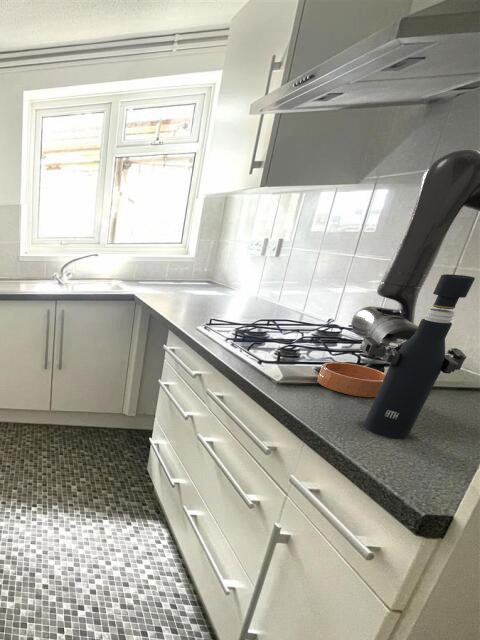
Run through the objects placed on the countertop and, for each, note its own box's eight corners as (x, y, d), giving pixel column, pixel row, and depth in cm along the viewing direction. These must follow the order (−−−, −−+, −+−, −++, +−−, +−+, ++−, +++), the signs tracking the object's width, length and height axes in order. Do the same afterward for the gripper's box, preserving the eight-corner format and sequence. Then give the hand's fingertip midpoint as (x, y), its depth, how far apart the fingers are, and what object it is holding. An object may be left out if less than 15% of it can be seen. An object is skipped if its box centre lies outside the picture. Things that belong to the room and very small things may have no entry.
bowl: (339, 376, 108) (345, 360, 106) (395, 395, 97) (403, 378, 95) (304, 381, 104) (310, 364, 102) (358, 402, 94) (366, 383, 92)
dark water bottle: (393, 426, 83) (467, 274, 71) (415, 442, 78) (499, 280, 66) (355, 421, 85) (421, 272, 73) (374, 437, 79) (448, 278, 67)
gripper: (360, 317, 88) (377, 336, 76) (456, 328, 81) (492, 351, 68) (347, 350, 91) (360, 374, 79) (438, 364, 84) (470, 393, 71)
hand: (422, 364), depth 74 cm, fingers closed on dark water bottle, 6 cm apart
